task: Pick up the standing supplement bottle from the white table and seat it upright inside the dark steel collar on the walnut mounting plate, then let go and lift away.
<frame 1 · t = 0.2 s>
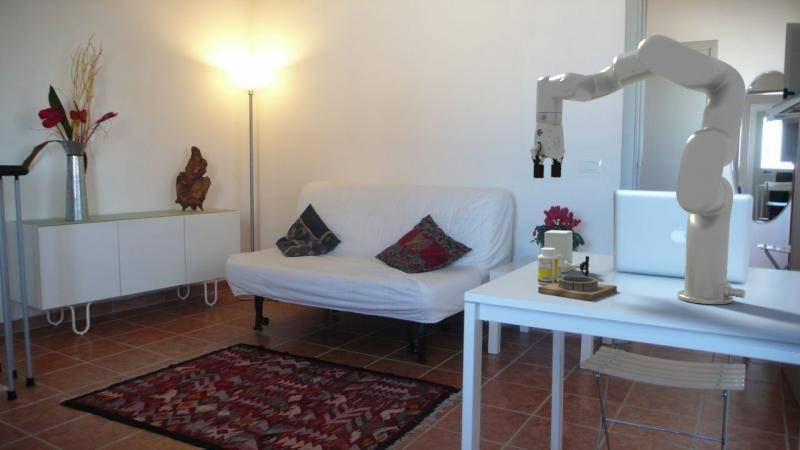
hand: (547, 177, 182), 30 cm above the table, tool pointing down, fingers open, 9 cm apart
supplement bottle: (547, 284, 176), on the table
supplement box: (558, 270, 198), on the table
collar plate: (577, 292, 164), on the table
valve: (568, 277, 187), on the table
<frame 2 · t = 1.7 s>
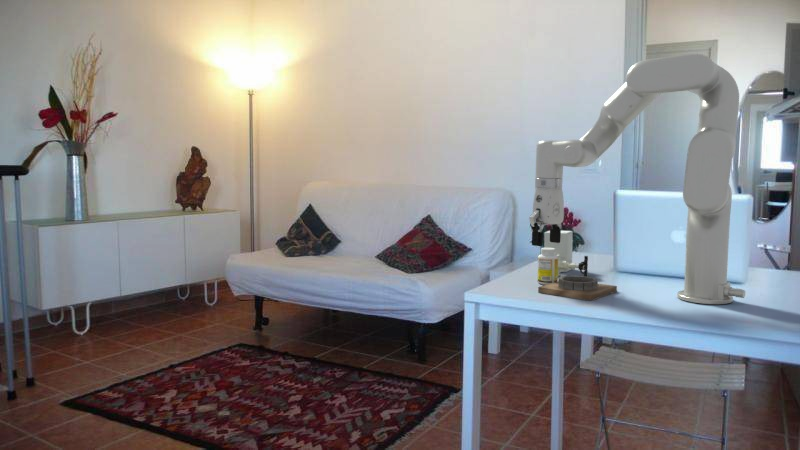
hand: (546, 244, 175), 11 cm above the table, tool pointing down, fingers open, 9 cm apart
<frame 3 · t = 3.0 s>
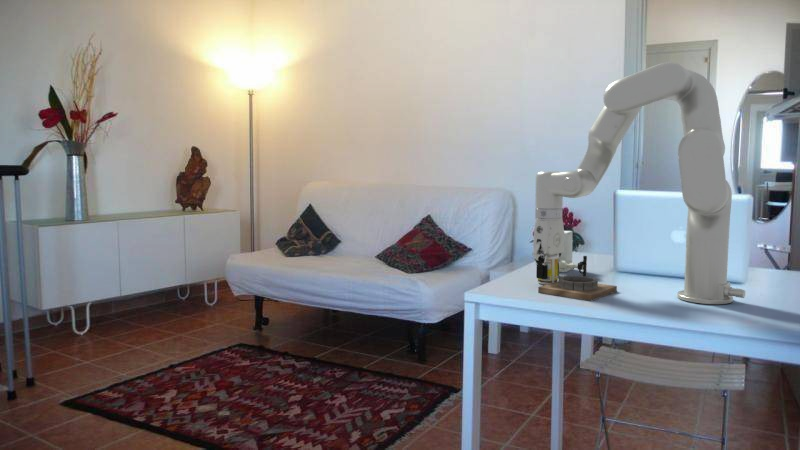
hand: (547, 276, 176), 2 cm above the table, tool pointing down, fingers closed on supplement bottle, 5 cm apart
supplement bottle: (547, 284, 176), on the table, touching gripper
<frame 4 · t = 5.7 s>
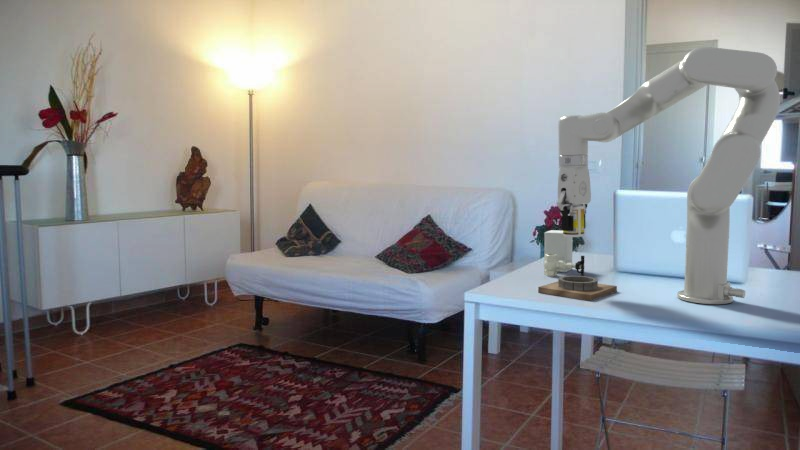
hand: (573, 228, 165), 17 cm above the table, tool pointing down, fingers closed on supplement bottle, 5 cm apart
supplement bottle: (573, 237, 165), point 15 cm above the table, touching gripper
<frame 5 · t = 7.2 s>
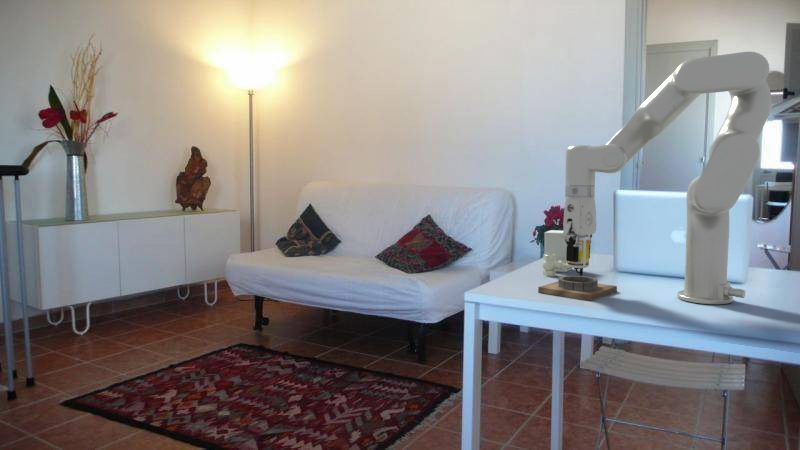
hand: (578, 259, 163), 9 cm above the table, tool pointing down, fingers closed on supplement bottle, 5 cm apart
supplement bottle: (577, 267, 164), point 7 cm above the table, touching gripper
when the fingers open (5 cm above the table, at t = 8.4 s): supplement bottle drops 1 cm, resting on collar plate.
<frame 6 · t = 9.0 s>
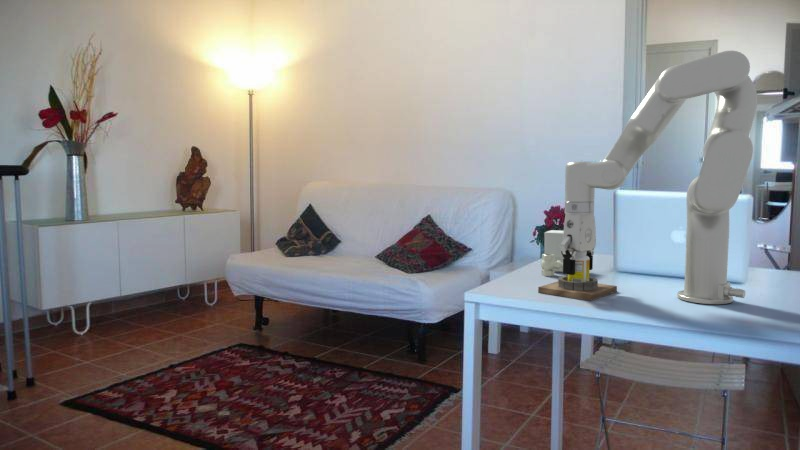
hand: (577, 271, 164), 6 cm above the table, tool pointing down, fingers open, 9 cm apart
supplement bottle: (578, 287, 164), point 1 cm above the table, touching collar plate
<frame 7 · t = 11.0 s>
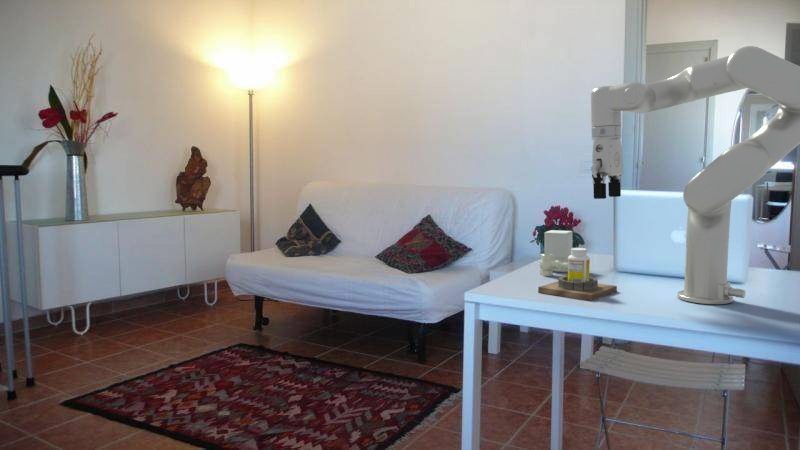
hand: (607, 197, 165), 25 cm above the table, tool pointing down, fingers open, 9 cm apart
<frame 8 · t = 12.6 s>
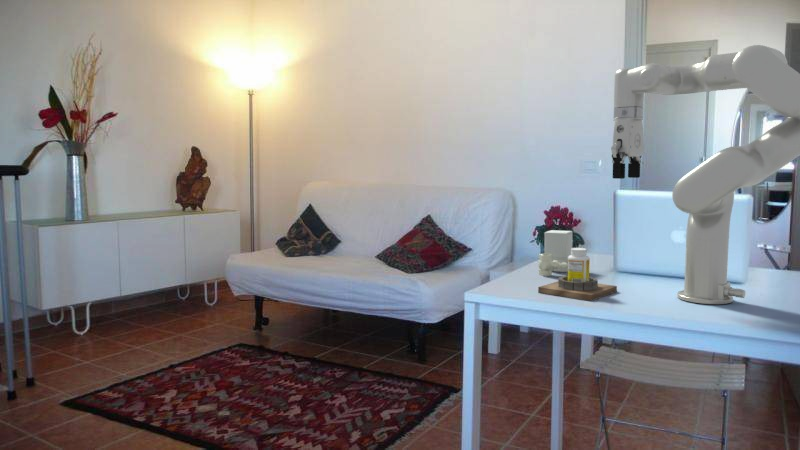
hand: (626, 178, 168), 30 cm above the table, tool pointing down, fingers open, 9 cm apart
at the end: supplement bottle 0.1 cm off-centre on the collar plate, point 1.3 cm above the collar plate's base; supplement bottle tilted 0°; the gripper is holding nothing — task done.
